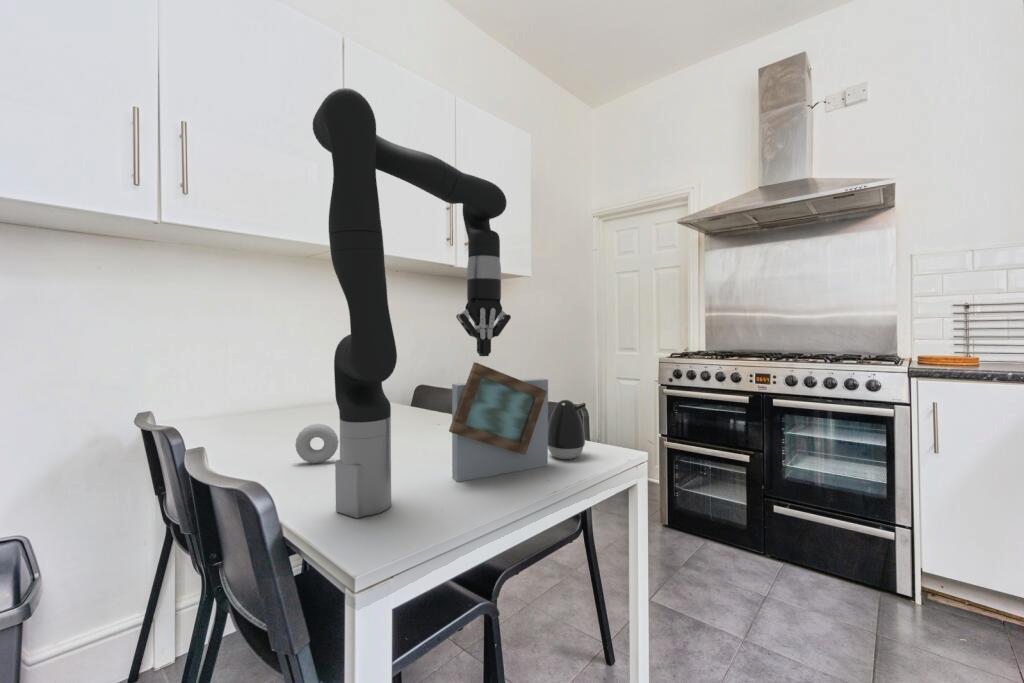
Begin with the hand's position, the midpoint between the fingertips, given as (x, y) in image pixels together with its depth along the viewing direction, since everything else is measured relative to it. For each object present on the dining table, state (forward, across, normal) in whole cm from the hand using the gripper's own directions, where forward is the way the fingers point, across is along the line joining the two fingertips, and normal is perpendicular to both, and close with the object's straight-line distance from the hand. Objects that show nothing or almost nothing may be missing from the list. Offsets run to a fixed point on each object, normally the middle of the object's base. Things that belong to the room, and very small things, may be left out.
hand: (484, 356), depth 99 cm
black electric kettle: (+28, +26, +5) cm, 39 cm away
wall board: (+28, +6, +3) cm, 29 cm away
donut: (+28, -32, +30) cm, 52 cm away
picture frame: (+20, +1, 0) cm, 20 cm away
